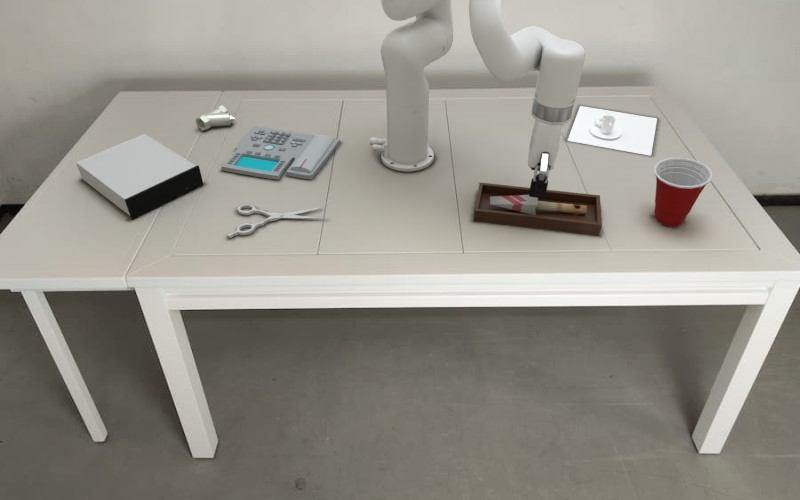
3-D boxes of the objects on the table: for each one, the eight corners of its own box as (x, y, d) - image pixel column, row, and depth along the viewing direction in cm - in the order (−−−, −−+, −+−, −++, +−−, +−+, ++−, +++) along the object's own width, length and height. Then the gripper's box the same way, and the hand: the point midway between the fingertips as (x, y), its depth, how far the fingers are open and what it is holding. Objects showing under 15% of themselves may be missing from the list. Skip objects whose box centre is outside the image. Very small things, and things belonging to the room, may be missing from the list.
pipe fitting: (238, 124, 166) (219, 116, 169) (236, 111, 164) (217, 102, 166) (216, 137, 161) (197, 128, 164) (214, 124, 159) (194, 115, 161)
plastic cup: (634, 203, 138) (648, 155, 130) (685, 203, 138) (701, 155, 130) (648, 234, 130) (663, 184, 122) (702, 235, 129) (720, 185, 122)
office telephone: (340, 133, 157) (309, 176, 142) (340, 143, 158) (310, 186, 143) (253, 120, 161) (215, 160, 146) (254, 129, 163) (217, 170, 148)
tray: (473, 221, 133) (474, 210, 131) (478, 192, 141) (479, 182, 139) (599, 235, 129) (602, 225, 127) (597, 206, 137) (600, 195, 135)
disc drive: (132, 220, 134) (126, 200, 131) (81, 180, 145) (74, 161, 142) (204, 185, 144) (199, 166, 141) (150, 150, 155) (145, 132, 152)
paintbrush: (491, 189, 135) (586, 199, 134) (489, 199, 137) (583, 210, 135) (490, 199, 132) (588, 210, 131) (488, 210, 134) (585, 221, 132)
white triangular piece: (592, 121, 166) (595, 107, 164) (623, 126, 164) (627, 112, 161) (586, 137, 160) (590, 122, 157) (619, 142, 158) (623, 128, 155)
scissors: (230, 205, 136) (324, 196, 138) (231, 208, 137) (324, 199, 139) (227, 235, 128) (327, 226, 130) (228, 238, 129) (327, 229, 131)
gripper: (534, 85, 127) (521, 158, 138) (530, 128, 114) (516, 205, 125) (572, 89, 126) (556, 162, 137) (573, 133, 113) (555, 210, 124)
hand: (537, 183), depth 131 cm, fingers open, 9 cm apart
